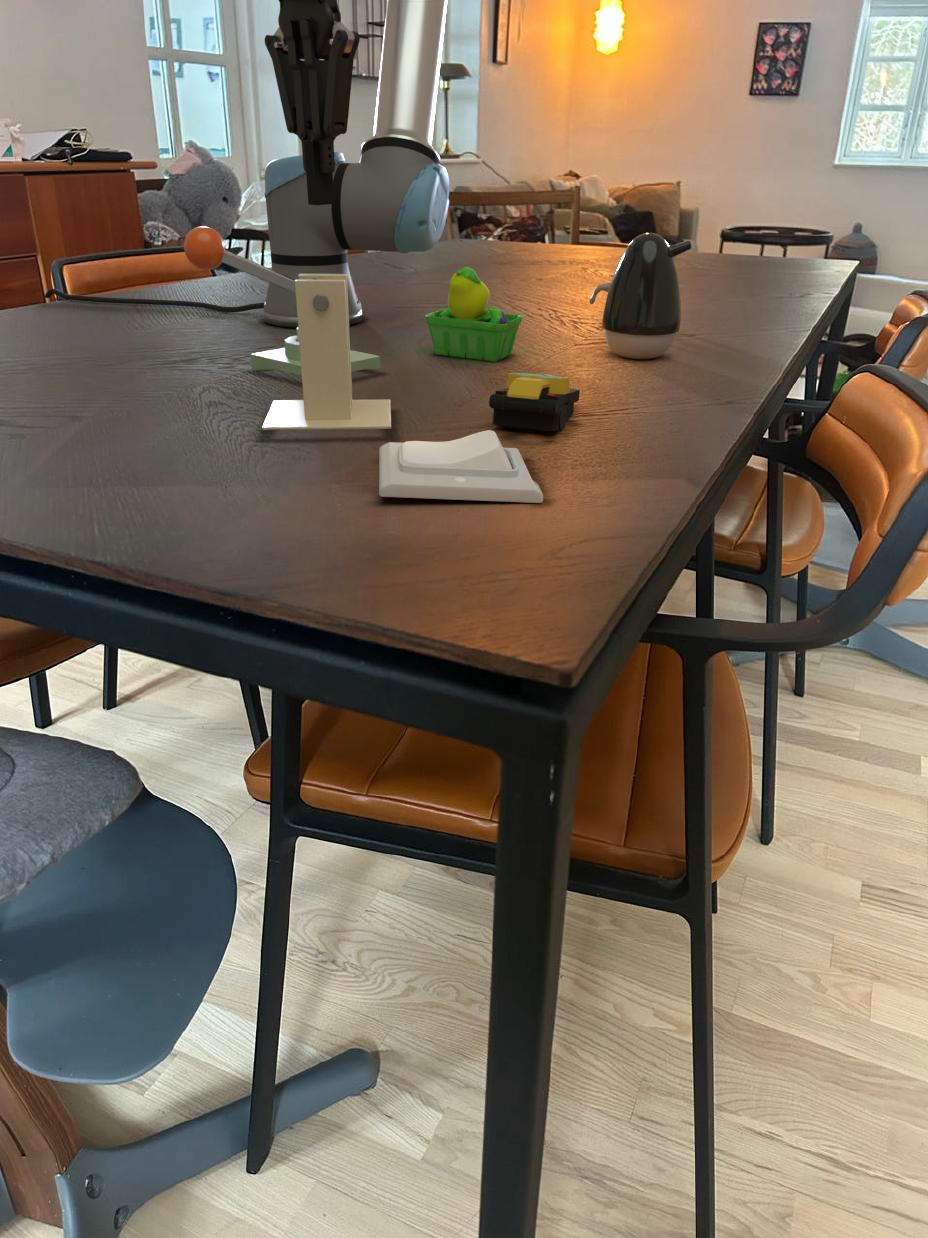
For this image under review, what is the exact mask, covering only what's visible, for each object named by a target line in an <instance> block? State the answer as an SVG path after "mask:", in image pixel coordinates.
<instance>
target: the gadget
mask: <svg viewBox="0 0 928 1238" xmlns="http://www.w3.org/2000/svg"><path fill="white" fill-rule="evenodd" d="M580 394H581V389H577V388H573V387H570V377H566V376H559V375H553V374H550V373H549V374H547V373H525V372H509V373H508V374H507V379H506V384H505V388H503V389H498V390H495V393H492V394H490V396H489V398H488V399H489V401H488V406H489V407H490V408H491V409H493V412H492V413H493V414H492V425H493V426H501V427H503V428H506V429H507V428H508V429H511V430H514V431H517V432H521V433H530V434H532V433H548V432H559V430H563V428H565V427H566V422H567V421H568V420H569V418H571V417H572V416H573V414H574V407H575V403H577V402H579V401H580Z"/></svg>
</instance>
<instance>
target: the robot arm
mask: <svg viewBox="0 0 928 1238" xmlns="http://www.w3.org/2000/svg"><path fill="white" fill-rule="evenodd" d="M278 2H279V12H278V17H277V18H278V19H277V22H278V28H277V29H276V31H275V32H274V33H273V35H272V34H266V35H265V37H264V46H265V47H266V49H267V51H268V54H269V56H270V58H271V61H272V66H273V71H274V76H275V80H276V84H277V90H278V93H279V99H280V103H281V108H282V113H283V117H284V121H285V127H286V130H287V132H288V133H289V134H294V135H296V137H298V139H299V140H300V142H301V155H293V156H287V157H282V158H277V159H273V160H271V161H269V162H268V163H267V165H266V166H265V169H264V194H263V195H264V196H263V197H264V199H265V206H266V217H267V228H268V240H269V251H270V260H271V262H270V263H271V269H272V270H274V271H277V272H279V273H281V274H284V275H286V276H288V277H291V278H293V279H295V280H296V279H299V274H347V292H348V314H349V326H350V325H355V324H358V323H360V322H361V321H362V320H363V309H362V304H361V301H360V300H358V294H357V290H356V287H355V284H354V281H353V278H352V275H351V272H350V267H349V256H348V255H349V254H348V253H349V251H369V252H391V253H400V254H408V253H421V252H423V253H424V252H428V251H430V250H432V249H433V248H434V247H435V246H436V245H437V244H438V242H439V241H440V239H441V237H442V235H443V232H444V229H445V226H446V221H447V218H448V212H449V206H450V199H449V197H450V196H449V195H450V178H449V174H448V171H447V168H446V167H445V166H443V165H441V157H440V155H439V153H438V152H437V150H436V149H435V148H434V147H433V146H432V145H433V135H434V126H435V117H436V107H437V98H438V90H439V88H438V87H439V81H440V69H441V61H442V54H443V53H442V52H443V43H444V34H445V24H446V15H447V6H448V0H387V1H386V12H385V21H384V30H383V31H384V32H383V39H382V47H381V49H382V50H381V56H380V57H381V58H380V68H379V78H378V87H377V96H376V106H375V113H374V114H375V115H374V125H373V135H372V136H370V137H369V138H367V139H366V140H365V141H363V143H362V144H361V147H360V157H359V162H346V158H344V154H343V153H342V152H341V151H335V145H334V144H335V140H336V138H337V137H339V136H341V135H345V134H346V133H347V131H348V123H349V113H350V104H351V103H350V102H351V91H352V81H353V71H354V60H355V56H356V53H357V50H358V47H359V44H360V41H361V38H360V34H359V32H358V31H355V30H350V29H348V27H346V26H345V25H344V23H343V16H342V13H341V10H340V7H339V0H278ZM52 295H56V296H58V297H60V298H61V299H64V300H69V301H70V300H71V301H79V302H90V303H91V302H92V303H102V304H103V303H105V304H124V305H126V304H127V305H152V306H172V307H173V306H174V307H190V308H200V309H201V308H202V309H207V310H212V311H217V312H223V313H241V312H247V311H253V310H259V309H262V311H263V320H264V322H266V323H267V324H269V325H273V326H277V327H283V328H284V327H285V328H295V329H297V328H298V316H297V302H296V293H293V292H291V291H289V290H286V289H284V288H281V287H279V286H277V285H274V284H272V283H269V282H268V286H267V291H266V297H265V301H264V302H258V303H249V304H245V305H239V306H224V305H218V304H213V303H209V302H208V303H207V302H200V301H191V300H190V301H189V300H173V299H153V298H152V299H151V298H150V299H149V298H127V297H126V298H123V297H122V298H121V297H105V296H104V297H103V296H90V295H78V294H69V293H65V292H63V291H61V290H59V289H57V288H49V289H48V291H46V293H45V294H44V296H43V298H44V299H50V298H51V297H52Z"/></svg>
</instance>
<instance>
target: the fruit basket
mask: <svg viewBox="0 0 928 1238" xmlns="http://www.w3.org/2000/svg"><path fill="white" fill-rule="evenodd" d="M448 285H449V291H448V295H447V296H448V297H447V306H448V307H447V308H442V309H439V310H436V311H433V312H430V313H427V314H425V315H424V318H425V322H426V324H427V325H428V329H429V334H430V337H431V338H430V339H431V341H432V347H433V350H434V354H435V355H437V356H444V357H445V356H446V357H447V356H449V357H453V358H462V359H470V360H478V361H479V360H480V361H485V362H496V363H497V362H498V361H500V360H503V359H505V358H507V357H508V356H510V355H512V352H513V349H514V345H515V342H516V337H517V334H518V331H519V327H520V325H521V323H522V321H523V318H524V317H523V315H521V314H517V313H516V314H514V313H507V312H504V311H502V310H501V309H498V307H496V306H495V305H494V306H491V307H490V308H488V305H489V301H490V296H491V291H490V290H489V288H488V287H487V285H486V284H485V283H484V282H483V281H482V280H481V279H480V278H479V277H478V274H477V273H476V271H475V270H474V269H473V268H472V267H469V266H464V267H462V268H460V270H459V269H458V270H457V271H456V272H455V273H454V274H453V275H452V276H451V278H450V280H449V284H448Z"/></svg>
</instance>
